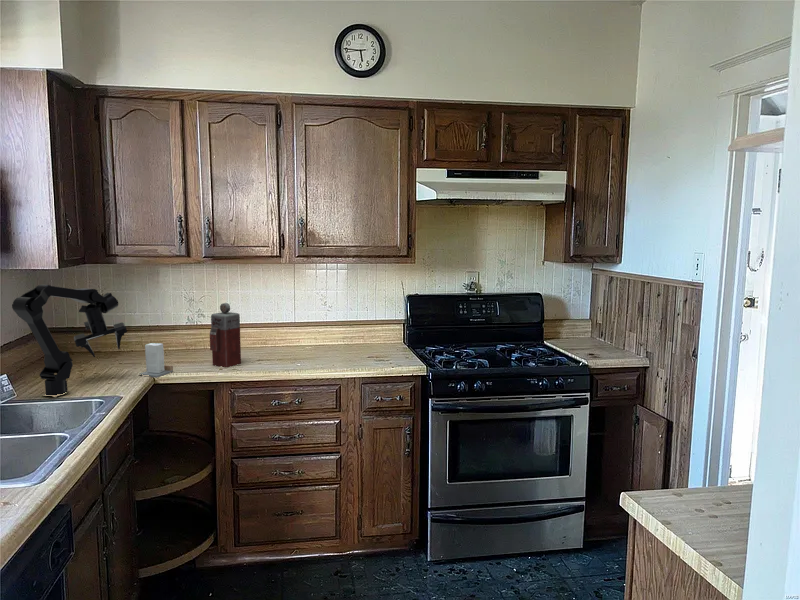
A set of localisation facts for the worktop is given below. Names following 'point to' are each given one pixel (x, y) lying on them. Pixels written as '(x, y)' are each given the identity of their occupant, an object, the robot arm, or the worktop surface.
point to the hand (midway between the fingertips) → (106, 352)
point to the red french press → (225, 337)
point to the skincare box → (154, 358)
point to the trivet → (167, 370)
